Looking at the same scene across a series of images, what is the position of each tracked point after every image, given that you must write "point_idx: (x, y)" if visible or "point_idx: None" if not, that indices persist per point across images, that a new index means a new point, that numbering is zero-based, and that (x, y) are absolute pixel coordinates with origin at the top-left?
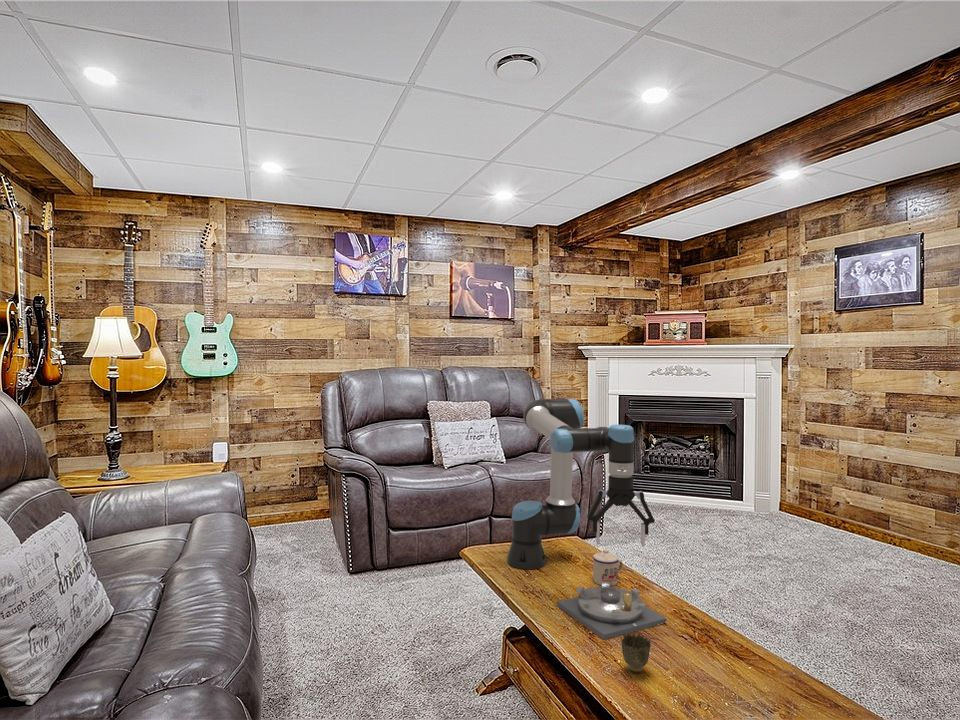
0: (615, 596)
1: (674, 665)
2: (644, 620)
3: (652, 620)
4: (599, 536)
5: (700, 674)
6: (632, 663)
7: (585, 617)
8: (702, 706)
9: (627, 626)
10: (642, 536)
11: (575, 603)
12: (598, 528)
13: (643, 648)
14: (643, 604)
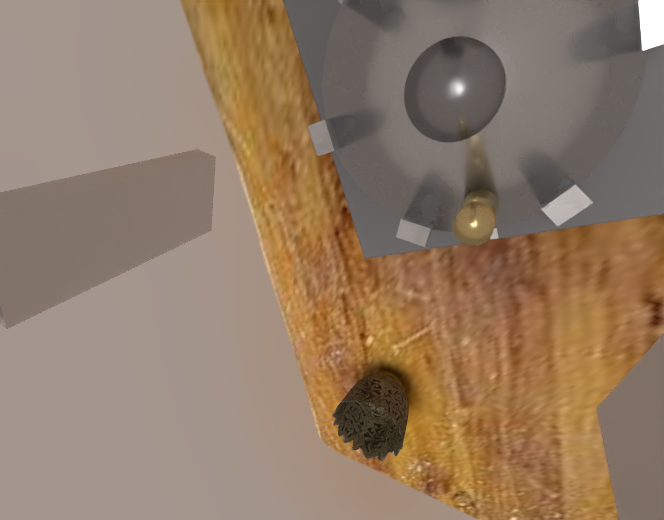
0: (455, 141)
1: (495, 403)
2: None
3: (596, 214)
4: (158, 255)
5: (536, 450)
6: (364, 410)
7: None
8: (458, 500)
9: None
10: (619, 514)
11: None
12: (71, 288)
13: (370, 456)
14: (572, 206)
